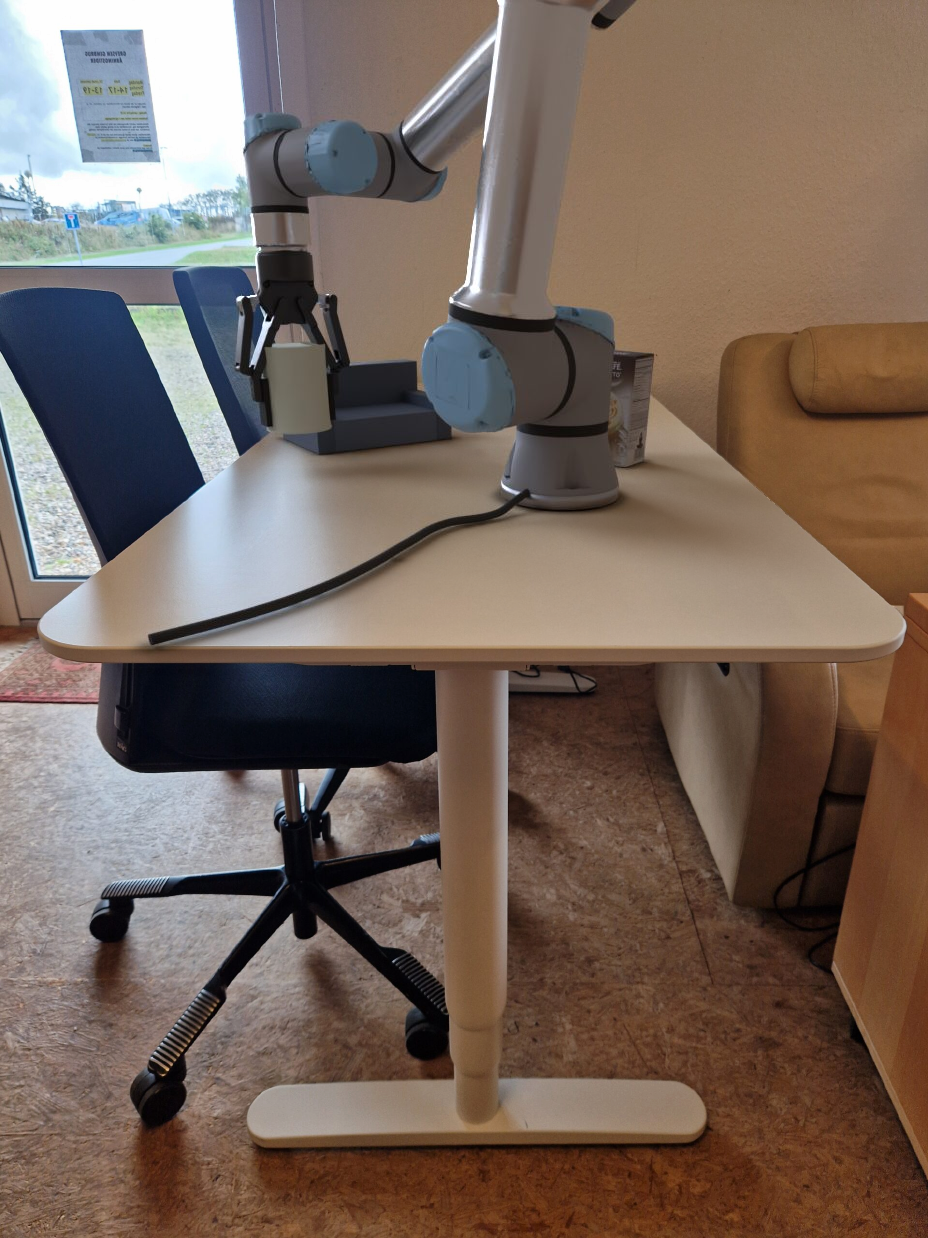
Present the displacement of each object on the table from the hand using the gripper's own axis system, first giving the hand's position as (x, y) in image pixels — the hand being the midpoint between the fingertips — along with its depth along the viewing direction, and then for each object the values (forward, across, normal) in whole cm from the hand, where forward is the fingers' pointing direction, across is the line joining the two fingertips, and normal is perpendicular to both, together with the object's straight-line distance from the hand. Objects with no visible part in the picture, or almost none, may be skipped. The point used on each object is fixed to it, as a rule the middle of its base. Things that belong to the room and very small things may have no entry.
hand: (299, 421), depth 118 cm
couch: (+7, -19, -18) cm, 27 cm away
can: (+1, 0, 0) cm, 1 cm away
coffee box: (+8, -43, +19) cm, 48 cm away
